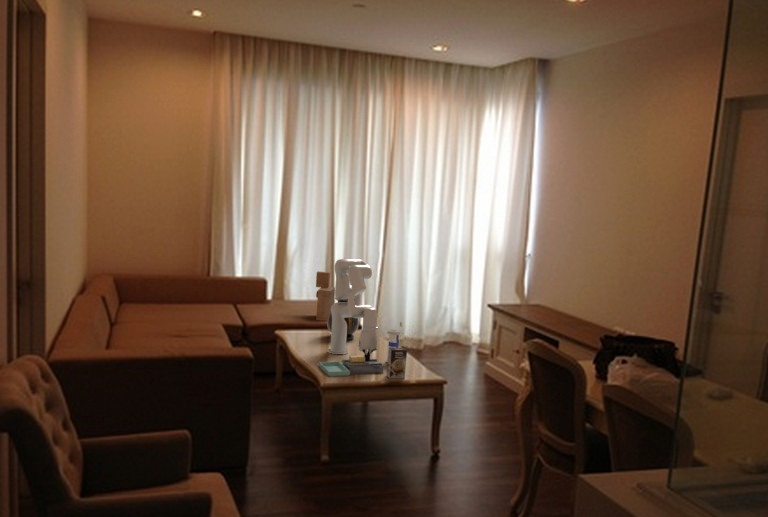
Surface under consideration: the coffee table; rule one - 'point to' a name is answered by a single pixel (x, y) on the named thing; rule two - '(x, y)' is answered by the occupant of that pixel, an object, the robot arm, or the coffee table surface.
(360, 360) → the tan wooden block
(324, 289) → the tan blocky figurine
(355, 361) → the tan wooden cube
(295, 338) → the coffee table surface
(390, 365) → the coffee box
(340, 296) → the robot arm
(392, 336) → the water bottle
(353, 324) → the amphora vase
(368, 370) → the grey flat channelled block
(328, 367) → the tray
